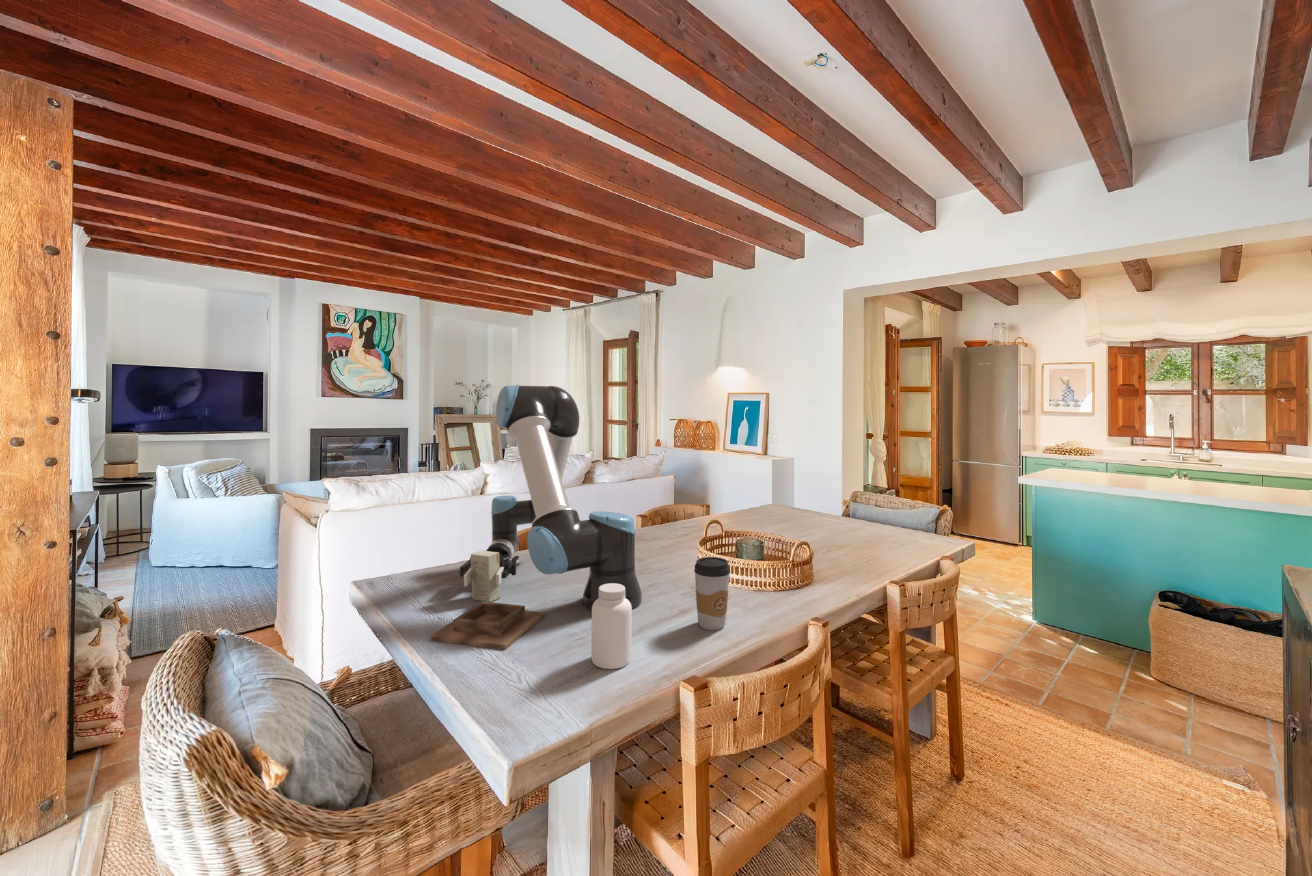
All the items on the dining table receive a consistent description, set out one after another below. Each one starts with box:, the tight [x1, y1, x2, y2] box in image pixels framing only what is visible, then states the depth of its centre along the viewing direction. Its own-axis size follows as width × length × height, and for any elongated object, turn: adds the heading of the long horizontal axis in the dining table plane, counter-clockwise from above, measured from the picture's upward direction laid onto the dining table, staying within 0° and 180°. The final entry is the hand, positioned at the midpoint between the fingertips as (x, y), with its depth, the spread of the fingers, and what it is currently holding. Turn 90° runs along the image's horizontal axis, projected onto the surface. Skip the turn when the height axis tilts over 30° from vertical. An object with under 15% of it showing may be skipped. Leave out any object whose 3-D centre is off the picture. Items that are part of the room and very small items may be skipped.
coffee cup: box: [693, 556, 731, 631], centre depth 123 cm, size 8×8×15 cm
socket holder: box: [430, 601, 545, 650], centre depth 122 cm, size 18×18×4 cm
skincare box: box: [470, 550, 502, 603], centre depth 139 cm, size 6×4×12 cm
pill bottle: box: [590, 583, 633, 670], centre depth 106 cm, size 8×8×15 cm
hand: (481, 580), depth 134 cm, fingers closed on skincare box, 7 cm apart
